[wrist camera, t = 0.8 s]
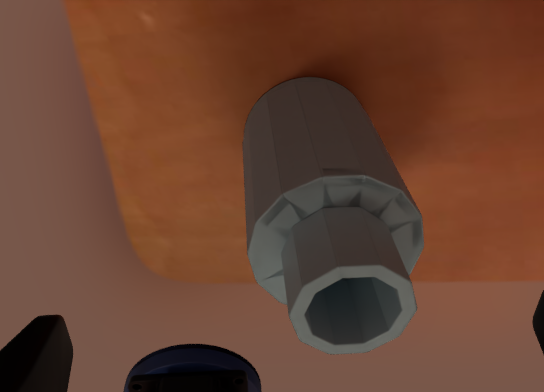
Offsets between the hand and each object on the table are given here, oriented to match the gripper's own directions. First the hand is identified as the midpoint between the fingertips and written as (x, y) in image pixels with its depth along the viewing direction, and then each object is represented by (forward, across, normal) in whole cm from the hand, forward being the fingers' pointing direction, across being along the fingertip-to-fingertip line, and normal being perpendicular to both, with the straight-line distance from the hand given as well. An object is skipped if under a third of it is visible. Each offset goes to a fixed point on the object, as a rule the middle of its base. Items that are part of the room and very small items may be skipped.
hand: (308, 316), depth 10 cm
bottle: (+12, -2, +2) cm, 13 cm away
